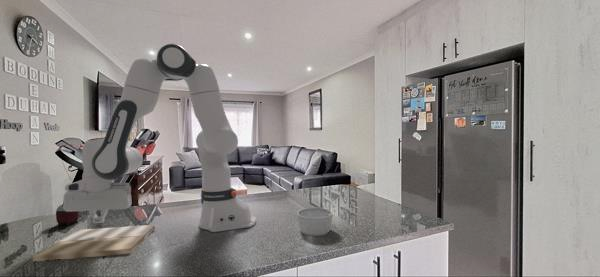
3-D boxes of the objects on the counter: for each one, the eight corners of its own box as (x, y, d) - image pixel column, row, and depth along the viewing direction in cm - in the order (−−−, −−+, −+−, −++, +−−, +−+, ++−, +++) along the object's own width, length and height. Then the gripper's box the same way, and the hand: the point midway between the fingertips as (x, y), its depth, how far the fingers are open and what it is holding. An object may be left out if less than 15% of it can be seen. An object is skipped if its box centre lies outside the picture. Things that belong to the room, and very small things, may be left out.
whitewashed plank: (154, 228, 102) (154, 224, 101) (144, 239, 92) (144, 235, 92) (78, 234, 97) (78, 229, 97) (58, 246, 87) (58, 241, 87)
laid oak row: (143, 240, 91) (143, 235, 91) (130, 253, 81) (130, 248, 81) (57, 247, 87) (57, 242, 87) (32, 261, 77) (32, 256, 77)
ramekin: (301, 239, 91) (301, 219, 91) (293, 226, 104) (293, 208, 104) (337, 235, 94) (337, 216, 94) (325, 223, 107) (325, 206, 107)
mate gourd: (55, 224, 108) (54, 188, 108) (80, 219, 114) (79, 185, 113) (56, 229, 103) (55, 191, 102) (82, 224, 108) (81, 187, 108)
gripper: (134, 180, 98) (134, 217, 99) (72, 182, 95) (72, 220, 95) (126, 184, 92) (127, 223, 93) (59, 186, 88) (60, 227, 89)
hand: (99, 222), depth 94 cm, fingers closed
